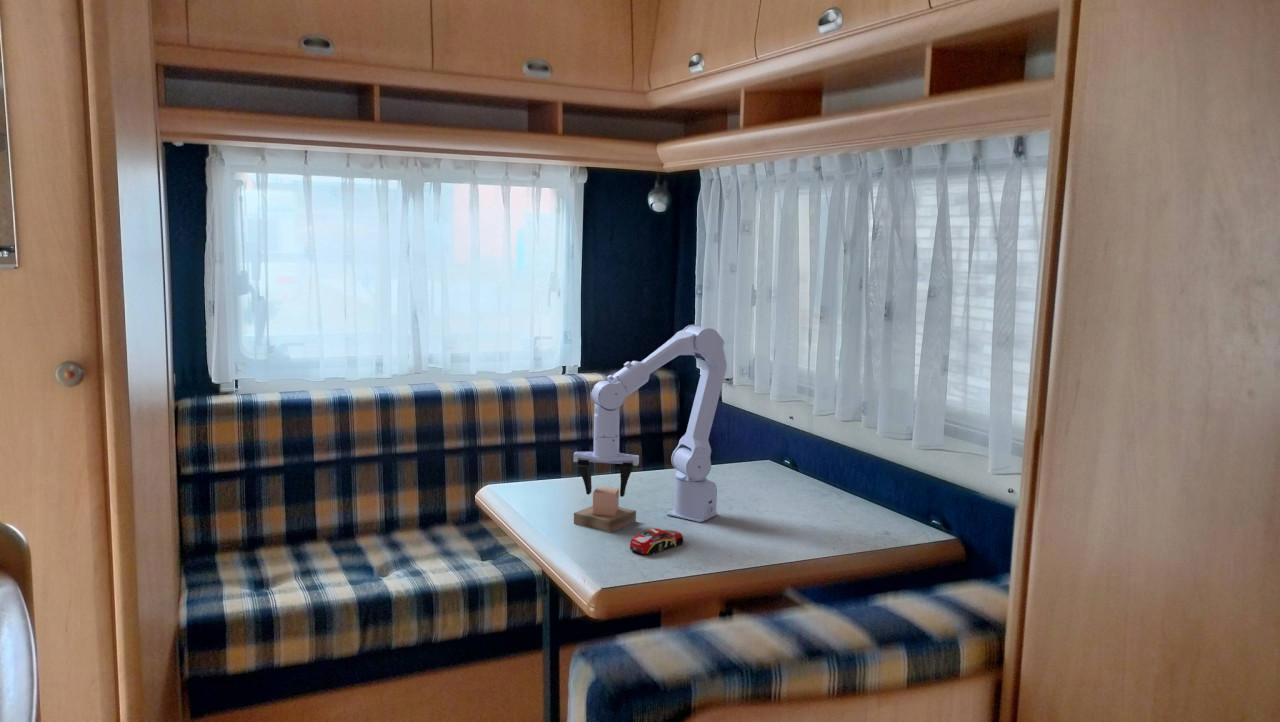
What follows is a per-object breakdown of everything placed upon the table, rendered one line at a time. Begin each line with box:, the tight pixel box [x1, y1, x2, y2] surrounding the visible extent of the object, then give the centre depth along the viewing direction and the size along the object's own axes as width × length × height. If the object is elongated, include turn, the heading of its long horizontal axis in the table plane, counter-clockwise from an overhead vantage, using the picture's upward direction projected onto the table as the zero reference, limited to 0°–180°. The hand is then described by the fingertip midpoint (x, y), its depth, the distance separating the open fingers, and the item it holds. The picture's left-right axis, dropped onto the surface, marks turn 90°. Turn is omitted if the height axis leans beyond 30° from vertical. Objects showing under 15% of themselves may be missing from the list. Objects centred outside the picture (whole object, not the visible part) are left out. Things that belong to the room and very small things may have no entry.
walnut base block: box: [573, 505, 637, 533], centre depth 208 cm, size 10×10×3 cm
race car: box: [629, 527, 684, 555], centre depth 193 cm, size 13×5×4 cm, turn 134°
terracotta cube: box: [592, 486, 620, 516], centre depth 208 cm, size 5×5×5 cm
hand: (605, 494), depth 208 cm, fingers open, 7 cm apart
